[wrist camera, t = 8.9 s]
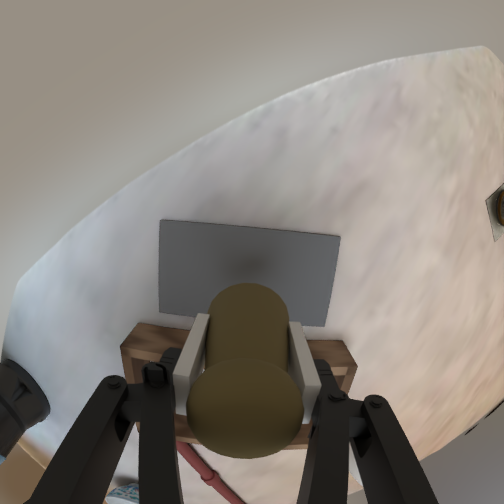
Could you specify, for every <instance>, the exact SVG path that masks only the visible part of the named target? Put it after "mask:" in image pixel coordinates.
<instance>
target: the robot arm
mask: <svg viewBox="0 0 504 504" xmlns="http://www.w3.org/2000/svg"><path fill="white" fill-rule="evenodd" d="M209 315H210V314H201V313H198V314H197V317H196V319H195V321H194V324H193V326H192V328H191V331H190V333H189V335H188V338H187V340H186V343H185V345H184V347H183V349H180V348H173V347H170V348H168V349H167V350H165V351H164V353H163V355H162V357H161V359H160V361H159V362H150V363H147V364H145V365H144V366H143V367H142V369H141V372H142V379H143V383H138V384H127V381H126V380H125V379H124V378H123V377H121V376H117V375H111V376H108V377H105V378H104V379H103V380H102V381H101V383H100V384H99V386H98V387H97V389H96V390H95V392H94V393H93V395H92V396H91V398H90V399H89V401H88V402H87V404H86V405H85V407H84V408H83V410H82V411H81V413H80V414H79V416H78V418H77V419H76V421H75V422H74V424H73V425H72V427H71V429H70V430H69V432H68V433H67V435H66V437H65V438H64V440H63V442H62V443H61V445H60V447H59V448H58V450H57V452H56V453H55V455H54V457H53V458H52V460H51V462H50V463H49V465H48V467H47V469H46V470H45V472H44V474H43V476H42V478H41V479H40V481H39V483H38V485H37V487H36V488H35V490H34V492H33V494H32V496H31V498H30V499H29V500H27V501H26V502H25V503H23V504H103V501H104V498H105V495H106V493H107V490H108V488H109V485H110V482H111V480H112V477H113V475H114V472H115V470H116V467H117V464H118V462H119V459H120V457H121V455H122V452H123V450H124V447H125V445H126V442H127V440H128V438H129V435H130V433H131V430H132V428H133V426H134V423H135V422H140V431H139V466H138V477H139V504H184V502H183V495H182V489H181V481H180V474H179V465H178V456H177V446H176V435H175V423H174V411H175V408H176V414H180V415H186V401H187V398H188V395H189V393H190V390H191V387H192V385H193V383H194V382H195V381H196V379H197V378H198V377H199V376H200V375H201V374H202V371H203V368H204V364H205V348H206V335H207V330H208V325H209ZM288 336H289V354H288V375H289V376H290V377H291V378H292V380H293V381H294V382H295V384H296V385H297V387H298V388H299V389H300V393H301V397H302V401H303V406H304V417H303V422H302V424H309V422H310V419H311V417H312V422H313V424H312V427H311V429H310V432H309V435H308V437H307V438H309V443H308V449H307V454H306V460H305V465H304V471H303V476H302V481H301V485H300V490H299V495H298V499H297V504H347V492H348V475H349V442H350V445H351V448H352V451H353V454H354V458H355V461H356V464H357V467H358V471H359V474H360V477H361V481H362V484H363V487H364V491H365V494H366V498H367V501H368V504H439V503H438V501H437V499H436V497H435V495H434V492H433V491H432V488H431V486H430V484H429V482H428V480H427V477H426V475H425V473H424V471H423V469H422V467H421V465H420V463H419V461H418V459H417V457H416V455H415V453H414V451H413V449H412V447H411V445H410V443H409V441H408V439H407V437H406V435H405V433H404V431H403V429H402V427H401V426H400V424H399V422H398V420H397V418H396V416H395V414H394V412H393V411H392V409H391V407H390V405H389V403H388V401H387V400H386V399H385V398H383V397H382V396H379V395H368V396H367V397H365V399H364V401H359V400H353V399H350V398H349V397H348V395H347V394H346V393H345V392H344V391H342V390H340V389H339V387H338V384H337V382H336V379H335V377H334V375H333V372H332V371H331V367H330V365H329V363H327V362H326V361H325V360H324V359H313V358H312V355H311V352H310V349H309V346H308V344H307V341H306V338H305V335H304V332H303V329H302V326H301V323H300V322H290V321H289V323H288ZM49 413H50V406H49V403H48V401H47V399H46V397H45V395H44V393H43V392H42V390H41V389H40V387H39V386H38V385H37V383H36V382H35V381H34V380H33V378H32V377H31V376H30V375H29V374H28V373H27V372H26V371H25V370H24V369H23V368H22V367H20V366H19V365H18V364H16V363H15V362H13V361H11V360H4V361H2V362H1V363H0V465H1V463H2V462H3V461H4V460H6V457H7V455H8V454H9V453H10V451H11V450H12V448H13V447H14V446H15V444H16V443H17V442H18V440H19V439H20V438H21V436H22V435H23V433H24V432H25V431H26V430H27V429H28V428H30V427H32V426H34V425H35V424H37V423H38V422H42V421H44V420H45V419H46V417H47V416H48V415H49ZM186 416H187V415H186Z"/></svg>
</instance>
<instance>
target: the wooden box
mask: <svg viewBox="0 0 504 504" xmlns="http://www.w3.org/2000/svg"><path fill="white" fill-rule="evenodd" d="M189 333H190V331H189V330H182V329H175V328H168V327H161V326H155V325H149V324H143V323H138V324H137V325H136V326H135V327H134V329H133V330H132V331H131V333H130V334H129V335H128V336H127V338H126V339H125V340H124V341H123V343H122V344H121V345H120V350H121V356H122V362H123V368H124V373H125V379H126V381H127V384H138V383H143V379H142V372H141V369H142V367H143V366H144V365H145V364H147V363H150V361H154V362H159V361H160V359H161V357H162V355H163V353H164V351H165V350H167V349H168V348H170V347H173V348H180V349H183V347H184V345H185V343H186V340H187V338H188V335H189ZM306 341H307V344H308V346H309V349H310V352H311V355H312V358H313V359H324V360H325V361H326V362H327V363H329V365H330V367H331V371H332V372H333V375H334V377H335V379H336V382H337V384H338V387H339V389H340V390H342V391H344V392H345V393H346V394H347V395H348V392H349V390H350V387H351V384H352V381H353V379H354V376H355V373H356V370H357V367H358V366H357V364H356V362H355V361H354V359H353V357H352V355H351V354H350V352H349V350H348V349H347V347H346V345H345V343H344V342H343V341H329V340H306ZM203 369H205V364H204V368H203ZM135 423H136V426H137V430H138V432H139V431H140V422H135ZM174 423H175V435H176V441H181V442H187V443H193V444H200V445H202V444H201V443H200V442H198V440H197V439H196V437H195V436H194V434H193V433H192V431H191V429H190V428H189V426H188V423H187V416H186V415H180V414H176V408H175V411H174ZM312 424H313V422H312V417H311V419H310V422H309V424H302V425H301V429H300V431H299V433H298V434H297V436H296V437H295V438H294V439H293V441H292V442H291V443H290V444H289V445H288V446H287V447H285V448H284V449H282V450H291V449H308V443H309V438H307V437H308V435H309V432H310V429H311V427H312Z"/></svg>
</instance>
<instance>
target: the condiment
mask: <svg viewBox="0 0 504 504" xmlns="http://www.w3.org/2000/svg"><path fill="white" fill-rule="evenodd" d="M486 202H487V208H488V212H489V217H490V221H491V226H492V230H493V235H494V240H495V241H496V240H497V239H498V238H499V237H500V236H501V235H502V234H503V233H504V184H503V185H502V186H501V187H500V188H499V189H498V190H497V191H496V192H495V193H494V194H493V195H492V196H491V197H490V198H489V199H487V200H486ZM497 223H498V224H497ZM499 224H500V225H499Z"/></svg>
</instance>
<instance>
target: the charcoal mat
mask: <svg viewBox="0 0 504 504" xmlns="http://www.w3.org/2000/svg"><path fill="white" fill-rule="evenodd" d="M340 239H341V237H340V236H332V235H323V234H314V233H305V232H296V231H286V230H276V229H266V228H256V227H245V226H234V225H223V224H211V223H199V222H186V221H173V220H160V231H159V312H162V313H169V314H176V315H183V316H191V317H197V314H198V313H201V314H207V312H208V309H209V307H210V304H211V302H212V300H213V299H214V298H215V297H216V296H217V295H218V293H219V292H221V291H223V290H224V289H226V288H228V287H229V286H232V285H236V284H240V283H257V284H260V285H263V286H266V287H268V288H270V289H272V290H273V291H274V292H275V293H277V294H278V295H279V296H280V297H281V298H282V300H283V301H284V303H285V304H286V306H287V310H288V314H289V321H290V322H300V323H301V326H318V327H324V326H325V322H326V317H327V313H328V308H329V303H330V298H331V293H332V287H333V282H334V276H335V271H336V265H337V259H338V252H339V246H340Z"/></svg>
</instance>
